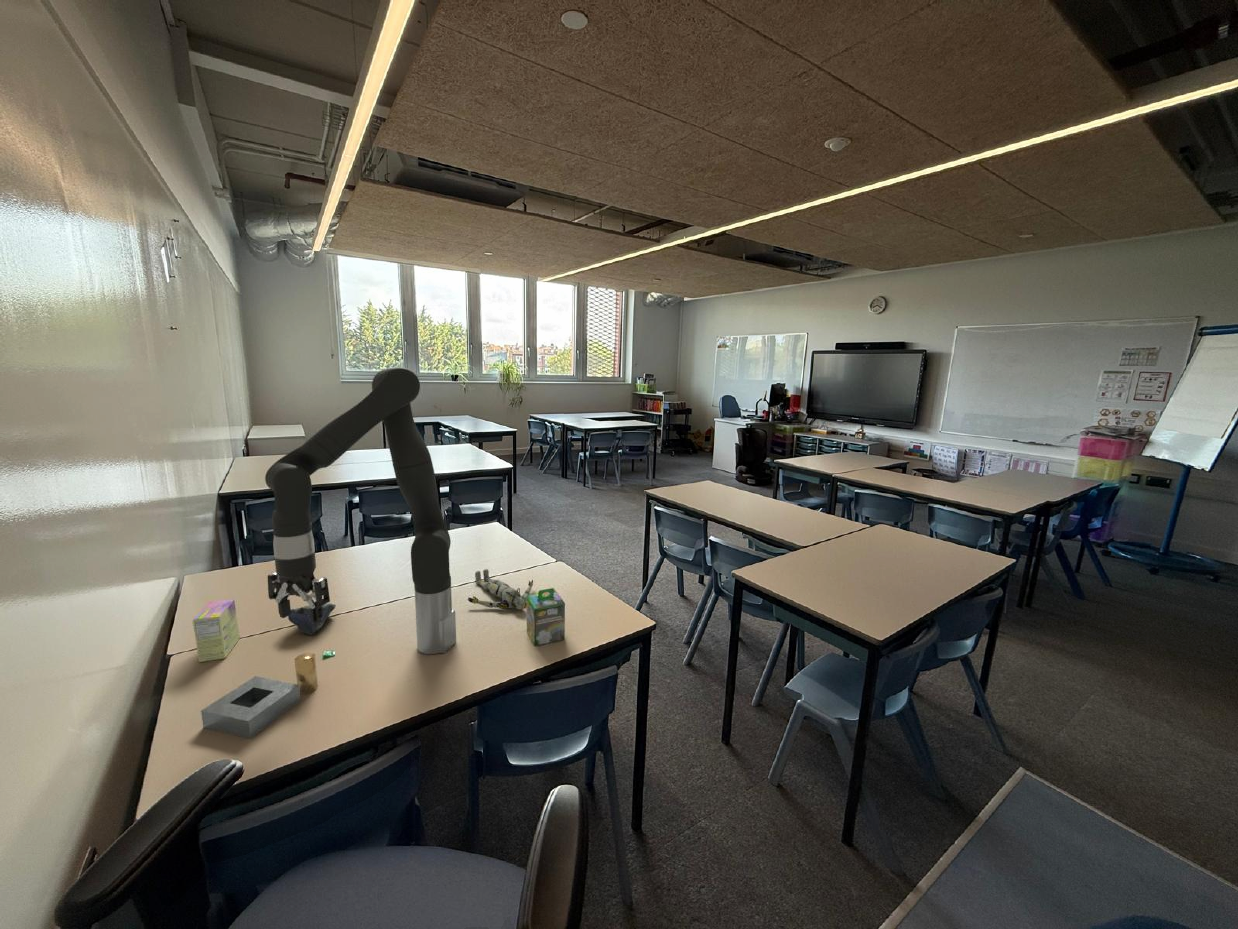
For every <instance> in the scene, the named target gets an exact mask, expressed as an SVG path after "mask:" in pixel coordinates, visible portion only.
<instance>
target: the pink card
mask: <svg viewBox="0 0 1238 929" xmlns="http://www.w3.org/2000/svg"><path fill="white" fill-rule="evenodd" d="M335 654H336V650H330V649H329V650H326V649H325V650H324V649H323V654H322V659H327V658H332V657H335V656H336V655H335Z"/></svg>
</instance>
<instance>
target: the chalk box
mask: <svg viewBox="0 0 1238 929" xmlns="http://www.w3.org/2000/svg"><path fill="white" fill-rule="evenodd" d="M525 606H526V607H525V608H526V609H525V610H526V613H525V614H526V631H527V634H528V636H529V638H530V639H531V641H532V644H533V646H534V647H537V646H541V645H545V644H550V643H554V642H560V641H564V640H565V636H566V635H565V632H566V629H565V626H566V624H565V623H566V622H565V621H566V616H565V615H566V603H565V601H564V599H562V597H561V595H560V594H559V593H558V592H557V591H556V590H555V588H554V587H550V588H546V589H545V588H544V589H540V590H538V592H536V593H532V594H529V595H528V596H526V603H525Z"/></svg>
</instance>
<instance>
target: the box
mask: <svg viewBox="0 0 1238 929" xmlns="http://www.w3.org/2000/svg"><path fill="white" fill-rule="evenodd" d="M192 626H193V632H194V637H195V642H196V650H197V657H198V663H203V662H211V661H217V660H223V659H226V658H227V657H228V656H229V654H230V653H231V651H232V650H233V648H234V647H235V645H236V644H237V643H238V642H239V640H240V637H241V636H240V631H239V630H240V629H239V623H238V617H237V608H236V602H235V599H234V598H233V599H223V600H216V601H209V602H208V604H207V605H206V606H204V608H202V610H201V611H200V612H199V613H198V614H197V615H196V616H195V617H194V618H193V619H192Z"/></svg>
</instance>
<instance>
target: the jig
mask: <svg viewBox="0 0 1238 929" xmlns="http://www.w3.org/2000/svg"><path fill="white" fill-rule="evenodd" d="M300 702H301V694H300V690H299V685H297V683H293V682H292V683H291V682H286V681H282V680H276V679H271V678H266V677H262V676H253V677H252V678H249V680H246V681H245V682H244V683H242V684H241V685H239V686H238V687H236V688H234V689H233V690H232V691H229V693H227V694H225V695H223V696H222V697H220V698H219V699H217V700H215V701H213V703H211V704H209V705H208V706H205V708H204V707H203V709H201V710H200V713H201V714H200V715H201V721H202V727H203V729H207V730H210V731H215V732H216V731H217V732H219V733H225V734H229V735H232V736H233V735H234V736H239V737H242V738H247V739H252V738H253V737H254V736H256V735H257V734H258V733H260V732H261V731H263V730H265V728H266V727H268V726H269V725H270V724H272V723H273V722H275V721H276V720H278V719H279V718H280V717H281V716H282V715H284V714H285V713H287V712H288V711H289V710H290V709H291V708H293V707H294V706H295V705H297V704H298V703H300Z"/></svg>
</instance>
